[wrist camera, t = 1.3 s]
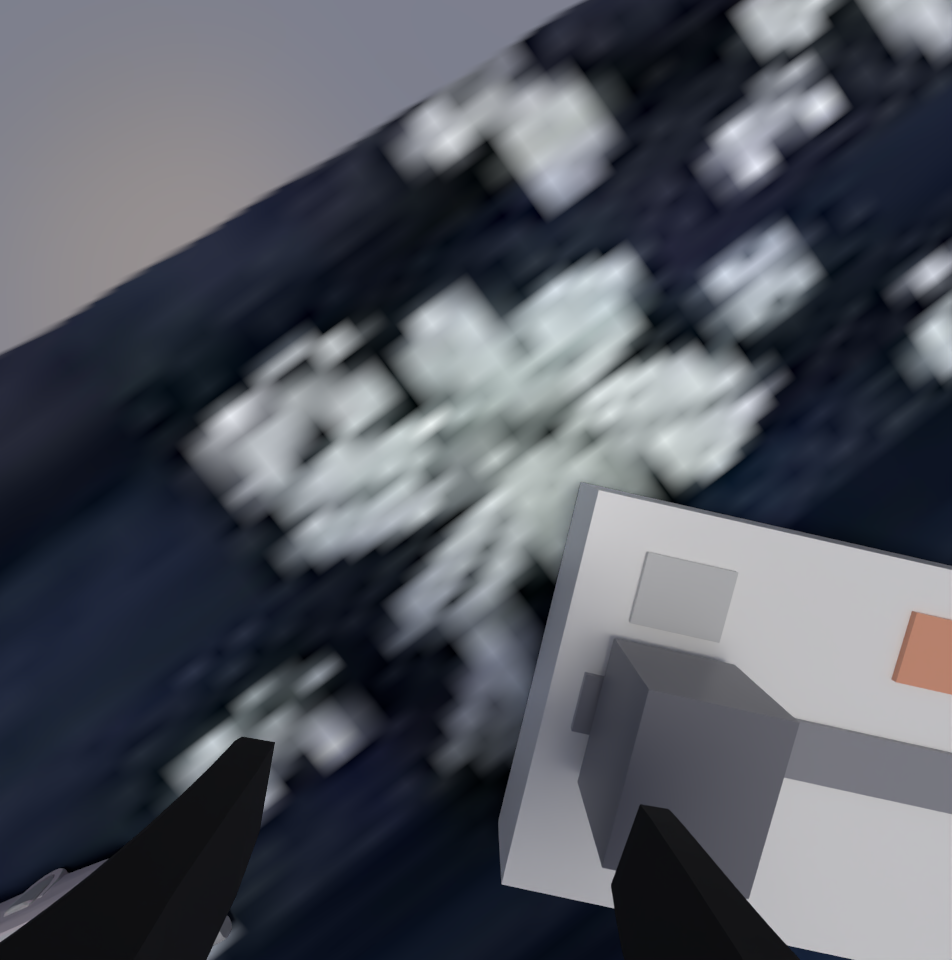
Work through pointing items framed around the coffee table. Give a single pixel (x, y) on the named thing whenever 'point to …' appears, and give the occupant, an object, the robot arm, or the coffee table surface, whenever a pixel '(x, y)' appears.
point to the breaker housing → (784, 677)
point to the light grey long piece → (49, 889)
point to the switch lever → (685, 755)
